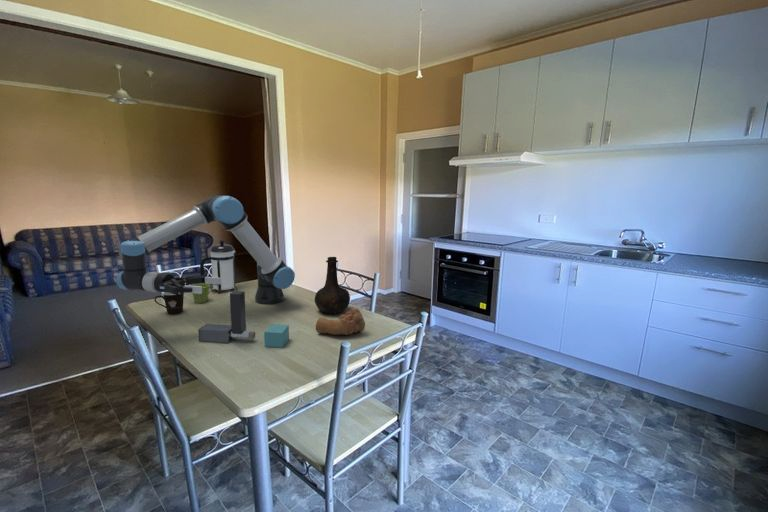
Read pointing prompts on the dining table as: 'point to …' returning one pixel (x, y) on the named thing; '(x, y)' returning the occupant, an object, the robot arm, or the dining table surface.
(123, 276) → the robot arm
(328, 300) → the glass bottle
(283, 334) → the socket block
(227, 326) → the outer sleeve
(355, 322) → the clay pipe
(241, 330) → the dark lever handle
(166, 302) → the coffee mug
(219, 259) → the coffee press
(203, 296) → the plant pot
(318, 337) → the dining table surface
